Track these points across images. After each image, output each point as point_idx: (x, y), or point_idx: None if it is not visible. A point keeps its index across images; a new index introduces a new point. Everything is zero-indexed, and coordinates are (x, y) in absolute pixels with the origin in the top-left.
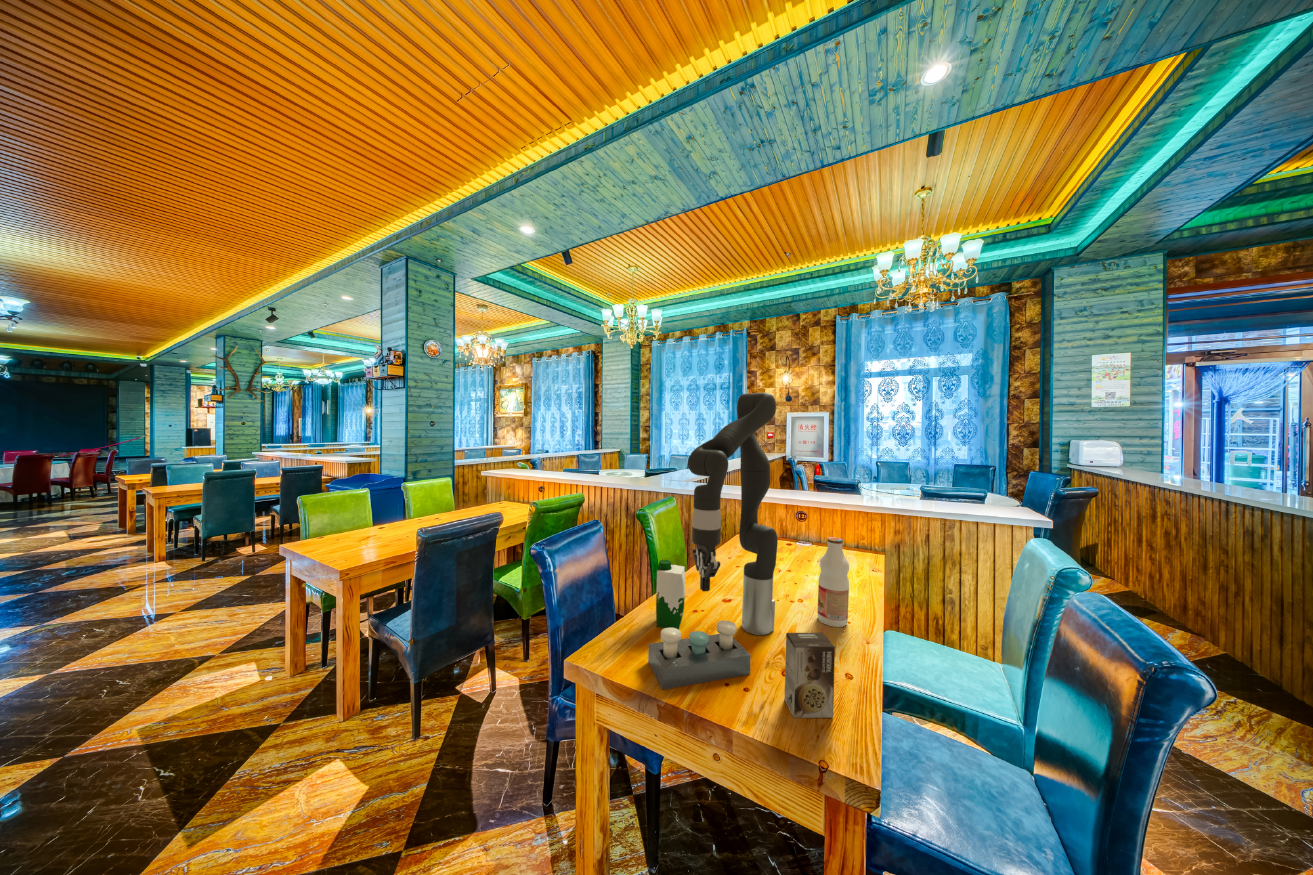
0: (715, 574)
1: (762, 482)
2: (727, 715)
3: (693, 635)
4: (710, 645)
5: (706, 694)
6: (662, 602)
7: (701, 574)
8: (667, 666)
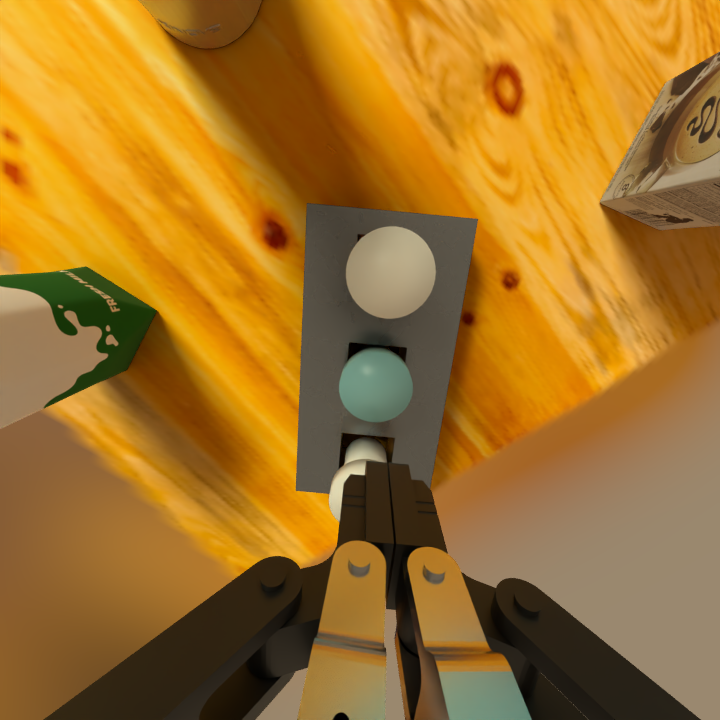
0: (588, 630)
1: None
2: (561, 381)
3: (365, 405)
4: (367, 323)
5: (478, 388)
6: (68, 393)
7: (395, 641)
8: None
